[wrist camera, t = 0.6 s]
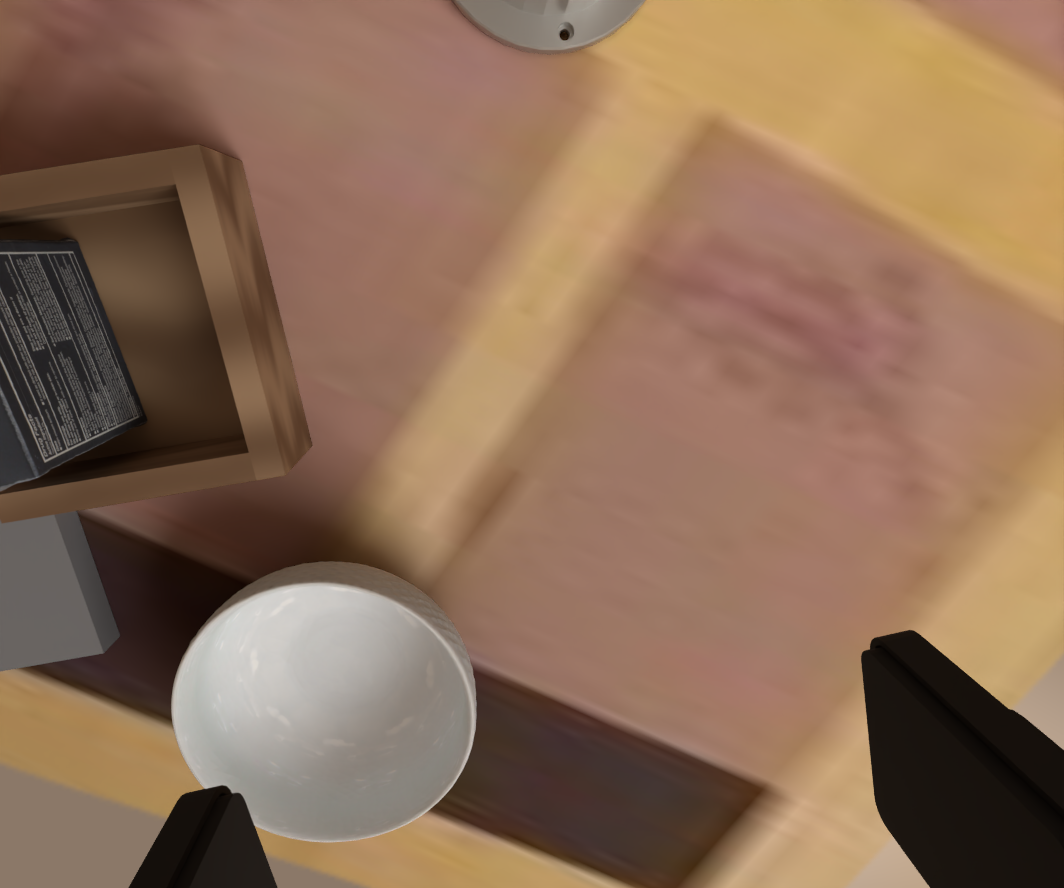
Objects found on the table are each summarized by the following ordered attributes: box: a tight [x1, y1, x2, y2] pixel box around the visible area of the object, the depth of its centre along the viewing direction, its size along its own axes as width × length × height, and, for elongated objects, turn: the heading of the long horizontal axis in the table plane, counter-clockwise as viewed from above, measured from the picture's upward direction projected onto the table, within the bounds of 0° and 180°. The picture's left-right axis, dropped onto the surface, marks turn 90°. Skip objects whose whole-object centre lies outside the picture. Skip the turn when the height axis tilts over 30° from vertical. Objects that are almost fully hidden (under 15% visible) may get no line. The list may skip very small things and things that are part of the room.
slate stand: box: [0, 484, 120, 671], centre depth 42 cm, size 12×9×2 cm
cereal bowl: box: [171, 561, 477, 842], centre depth 43 cm, size 17×17×7 cm
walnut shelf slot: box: [0, 144, 312, 523], centre depth 37 cm, size 16×14×6 cm
